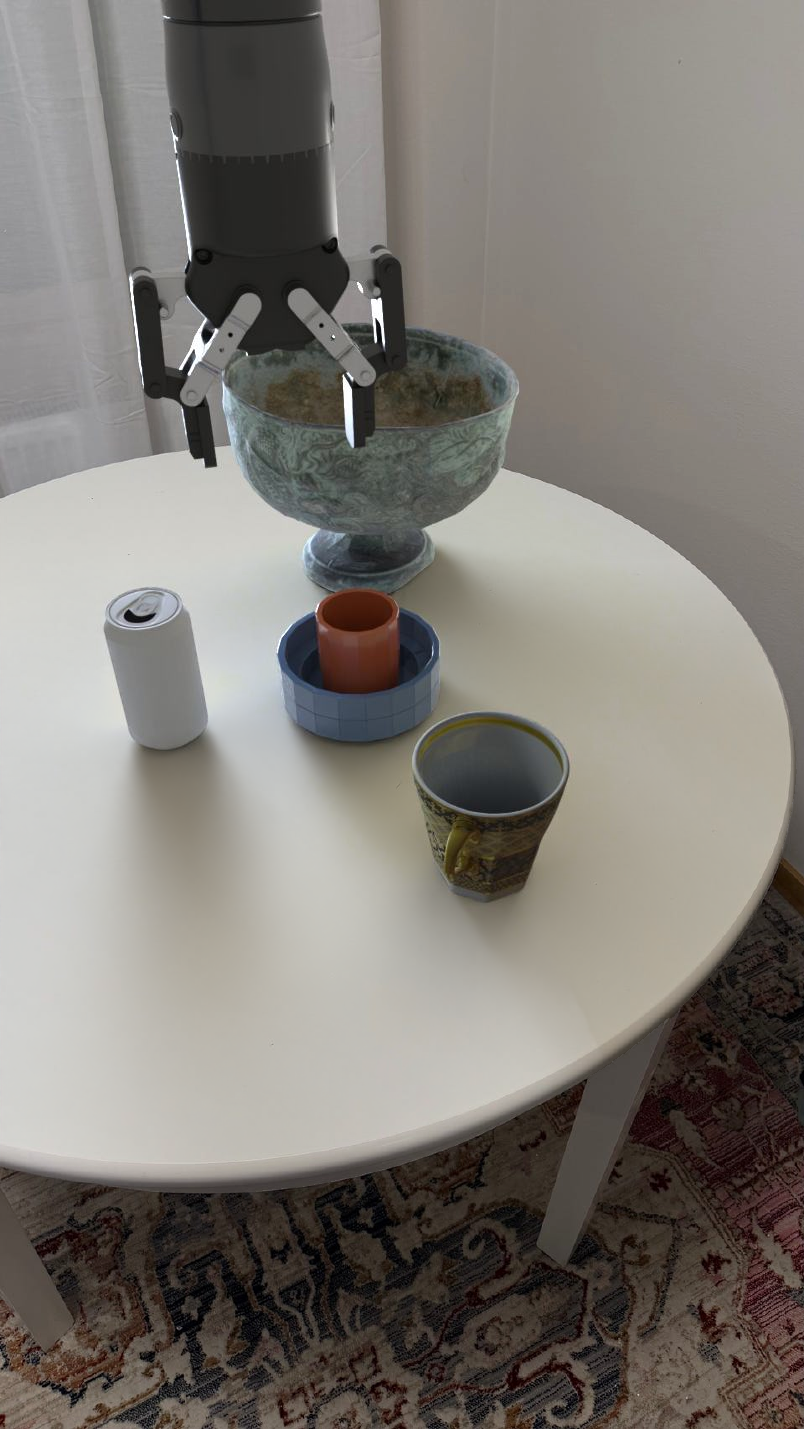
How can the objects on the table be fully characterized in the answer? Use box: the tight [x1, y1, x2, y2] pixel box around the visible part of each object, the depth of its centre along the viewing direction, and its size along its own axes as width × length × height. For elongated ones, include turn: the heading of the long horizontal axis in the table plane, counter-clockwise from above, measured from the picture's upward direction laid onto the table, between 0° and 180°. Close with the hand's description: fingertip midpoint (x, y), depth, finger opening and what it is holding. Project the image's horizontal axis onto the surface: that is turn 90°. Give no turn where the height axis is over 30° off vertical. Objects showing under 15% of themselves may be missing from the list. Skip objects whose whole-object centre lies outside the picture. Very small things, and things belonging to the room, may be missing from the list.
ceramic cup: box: [411, 710, 571, 903], centre depth 66 cm, size 13×10×10 cm
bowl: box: [276, 606, 441, 742], centre depth 83 cm, size 13×13×5 cm
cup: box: [315, 588, 400, 694], centre depth 82 cm, size 6×6×8 cm
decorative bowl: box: [221, 322, 520, 594], centre depth 95 cm, size 26×26×20 cm
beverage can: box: [102, 586, 209, 751], centre depth 78 cm, size 6×6×12 cm
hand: (283, 452), depth 58 cm, fingers open, 8 cm apart
